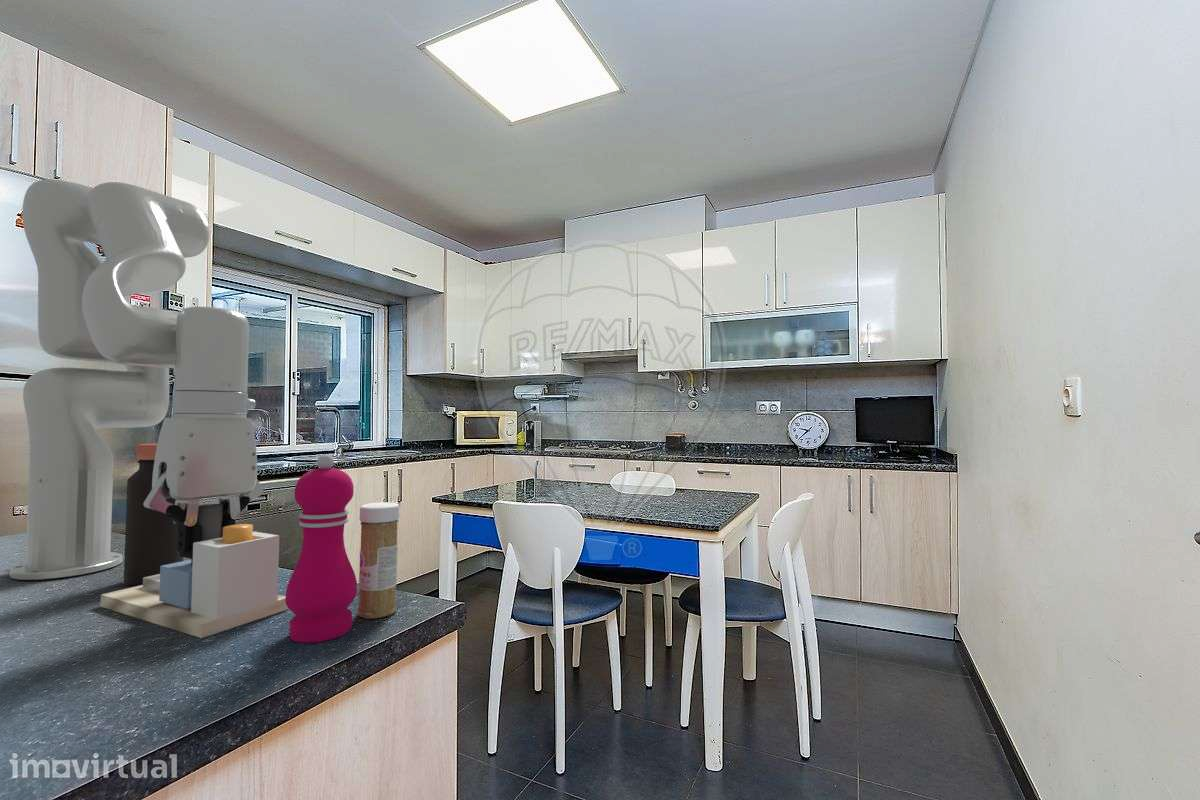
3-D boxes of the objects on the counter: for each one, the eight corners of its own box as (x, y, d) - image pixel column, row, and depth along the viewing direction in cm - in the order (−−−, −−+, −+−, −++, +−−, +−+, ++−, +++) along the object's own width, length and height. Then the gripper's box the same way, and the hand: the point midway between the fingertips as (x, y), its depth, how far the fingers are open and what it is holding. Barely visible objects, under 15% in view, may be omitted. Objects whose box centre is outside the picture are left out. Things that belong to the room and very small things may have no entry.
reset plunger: (216, 561, 64) (217, 527, 64) (242, 555, 67) (243, 523, 67) (231, 564, 63) (232, 530, 63) (257, 558, 65) (258, 525, 65)
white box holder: (191, 612, 62) (193, 542, 63) (252, 594, 69) (254, 531, 69) (216, 619, 60) (218, 547, 60) (277, 600, 66) (279, 535, 67)
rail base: (100, 606, 68) (101, 584, 68) (188, 584, 77) (189, 565, 77) (201, 638, 59) (202, 613, 59) (288, 609, 68) (289, 587, 68)
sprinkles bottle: (350, 613, 66) (353, 504, 67) (385, 604, 70) (387, 500, 70) (368, 623, 63) (371, 508, 64) (404, 612, 67) (406, 503, 67)
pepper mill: (327, 648, 56) (331, 457, 57) (268, 642, 58) (273, 455, 59) (369, 622, 64) (373, 453, 64) (316, 617, 65) (320, 451, 66)
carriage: (159, 600, 65) (162, 507, 66) (220, 584, 72) (223, 500, 72) (187, 608, 63) (190, 512, 63) (248, 591, 69) (251, 503, 69)
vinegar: (112, 583, 77) (117, 444, 78) (164, 571, 84) (169, 442, 84) (141, 589, 75) (147, 445, 76) (193, 576, 81) (197, 443, 82)
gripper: (257, 408, 77) (253, 537, 76) (115, 405, 62) (109, 566, 61) (292, 408, 74) (288, 543, 73) (150, 405, 59) (144, 574, 58)
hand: (206, 552), depth 67 cm, fingers closed on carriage, 3 cm apart
